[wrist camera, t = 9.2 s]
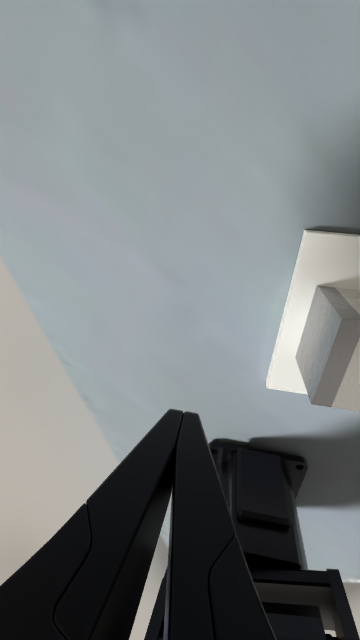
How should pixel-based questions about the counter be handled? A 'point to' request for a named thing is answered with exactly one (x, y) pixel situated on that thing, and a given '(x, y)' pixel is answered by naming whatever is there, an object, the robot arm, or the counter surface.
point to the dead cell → (332, 349)
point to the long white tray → (311, 297)
